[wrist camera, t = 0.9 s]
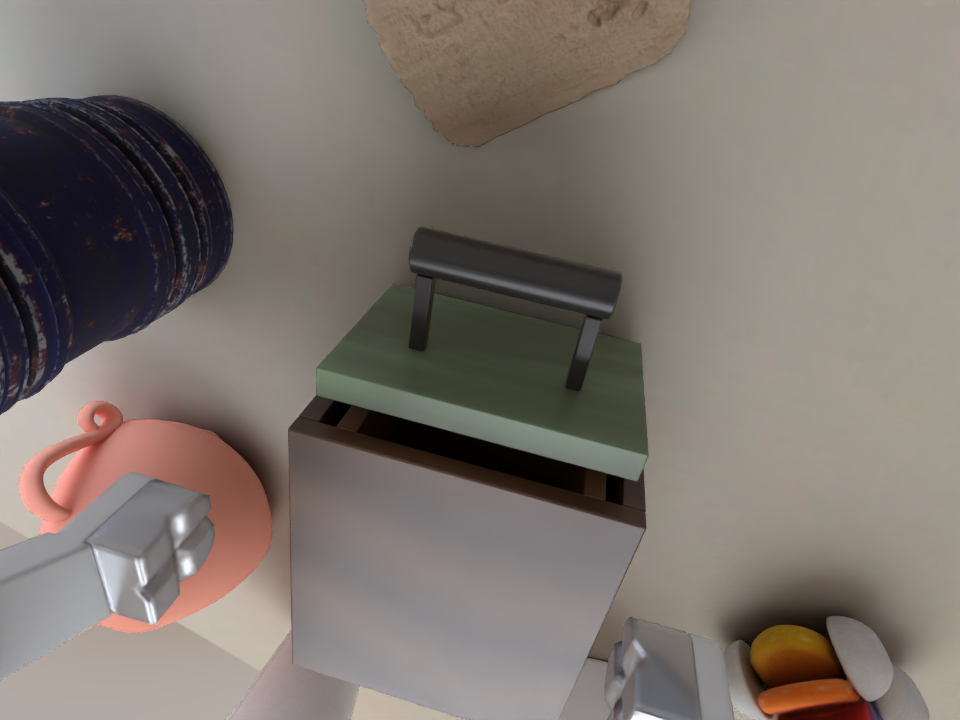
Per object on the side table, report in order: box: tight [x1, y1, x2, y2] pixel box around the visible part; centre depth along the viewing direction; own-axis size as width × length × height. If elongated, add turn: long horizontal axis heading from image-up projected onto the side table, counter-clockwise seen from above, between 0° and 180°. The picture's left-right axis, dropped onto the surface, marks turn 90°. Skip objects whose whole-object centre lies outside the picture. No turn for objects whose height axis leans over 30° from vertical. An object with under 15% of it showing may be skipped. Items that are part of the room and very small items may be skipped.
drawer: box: [316, 227, 649, 501], centre depth 24 cm, size 18×11×8 cm, turn 171°
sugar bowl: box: [19, 401, 272, 633], centre depth 32 cm, size 12×14×10 cm
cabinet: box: [288, 395, 646, 720], centre depth 27 cm, size 15×13×10 cm
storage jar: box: [0, 95, 233, 415], centre depth 21 cm, size 10×10×15 cm
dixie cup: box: [226, 629, 360, 720], centre depth 38 cm, size 8×8×10 cm
